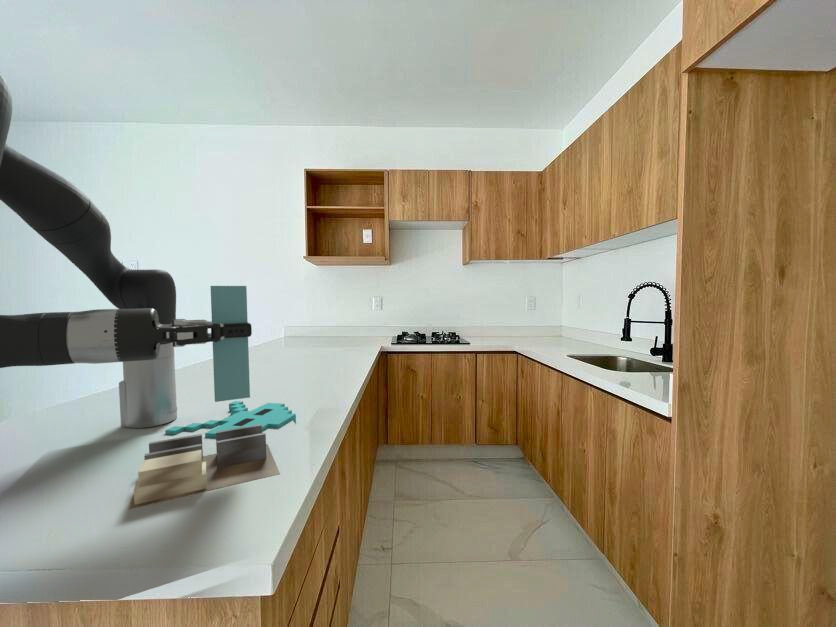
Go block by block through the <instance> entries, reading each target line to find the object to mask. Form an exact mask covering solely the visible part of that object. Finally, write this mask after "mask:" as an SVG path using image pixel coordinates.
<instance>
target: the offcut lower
mask: <svg viewBox="0 0 836 627" xmlns="http://www.w3.org/2000/svg"><path fill="white" fill-rule="evenodd" d="M206 488H207V473H206V462H202V474H201V475H196V476H191V477H187V478H182V479H177V480H172V481H168V482H163V483H158V484H154V485H149V486H144V487H139V477H137V480H136V483H135V486H134V488H133V495H134V502H135V505H136V504H140V503H145V502H149V501H153V500H158V499H162V498H167V497H171V496H175V495H180V494H184V493H188V492H193V491H197V490H201V489H206Z"/></svg>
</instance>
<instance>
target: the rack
mask: <svg viewBox="0 0 836 627" xmlns="http://www.w3.org/2000/svg"><path fill="white" fill-rule="evenodd" d="M215 444H216V449H215V450H216V453H213V454H208V455H203V454H204V452H203V451H204V450H203V433H200V434H193V435H192V434H191V435H187V436H182V437H181V436H180V437H175V438H169V439H162V440H156V441H151V442H149V443H148V453H145V454H144V460H148V459H154V458H159V457H164V456H170V455H175V454H181V453H186V452H192V451H197V450H202V462H206V473H207V488H206V489H201V490H197V491H193V492H188V493H184V494H180V495H175V496H171V497H167V498H162V499H158V500H153V501H149V502H145V503H140V504H136V505H135V502H134V494H133V495H132V499H131V501H130V504H129V507H128V510H130V509H136V508H139V507H140V508H141V507H144V506H150V505H154V504H157V503H160V502H166V501H171V500H174V499H180V498H182V497H188V496H191V495H196V494H200V493H205V492H208V491H213V490H217V489H221V488H222V489H223V488H225V487H231V486H234V485H239V484H242V483H248V482H251V481H257V480H260V479H264V478H265V479H266V478H269V477H272V476H278V475H280V474H281V472H280V470H279V468H278V465H277V463H276V461H275V458H274V456H273V454H272V451H271V448H270V447H269V444H268V443H267V434H266V432H263V431H262V425H261V424H258V425H252V426H246V427H240V428H234V429H228V430H222V431H216V438H215Z"/></svg>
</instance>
